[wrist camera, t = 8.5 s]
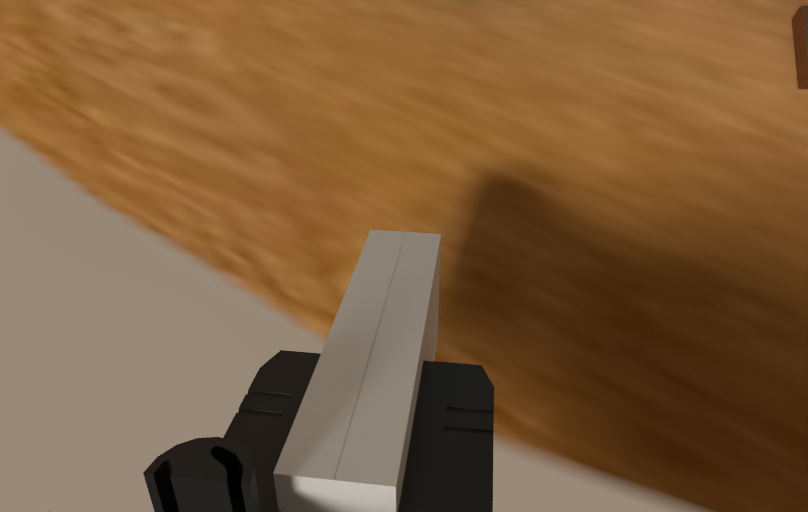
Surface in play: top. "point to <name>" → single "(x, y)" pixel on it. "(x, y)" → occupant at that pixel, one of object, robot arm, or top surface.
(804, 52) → the guide pipe
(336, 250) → the top surface
